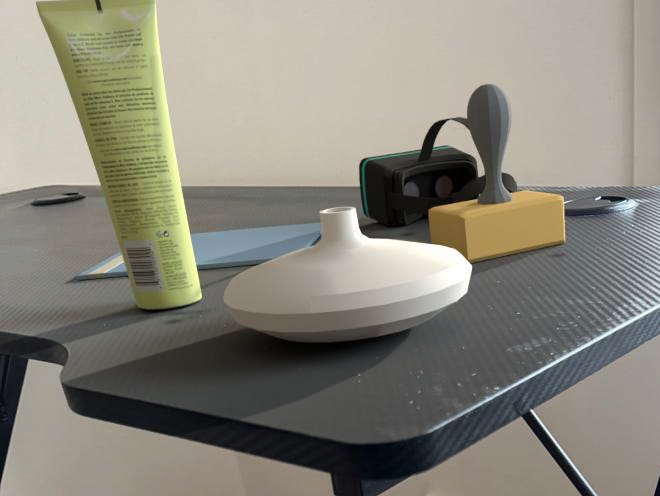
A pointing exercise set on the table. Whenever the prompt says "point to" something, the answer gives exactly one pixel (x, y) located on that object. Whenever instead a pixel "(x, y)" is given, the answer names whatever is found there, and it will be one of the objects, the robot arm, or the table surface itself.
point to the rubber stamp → (496, 195)
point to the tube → (128, 138)
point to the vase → (347, 285)
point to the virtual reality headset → (420, 180)
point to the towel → (228, 248)
